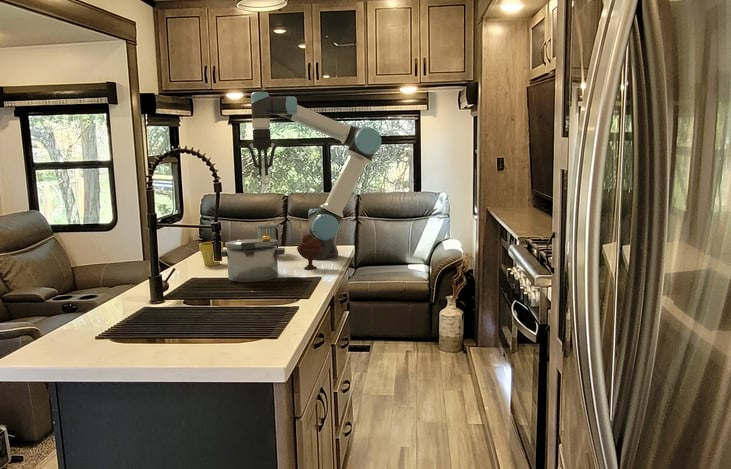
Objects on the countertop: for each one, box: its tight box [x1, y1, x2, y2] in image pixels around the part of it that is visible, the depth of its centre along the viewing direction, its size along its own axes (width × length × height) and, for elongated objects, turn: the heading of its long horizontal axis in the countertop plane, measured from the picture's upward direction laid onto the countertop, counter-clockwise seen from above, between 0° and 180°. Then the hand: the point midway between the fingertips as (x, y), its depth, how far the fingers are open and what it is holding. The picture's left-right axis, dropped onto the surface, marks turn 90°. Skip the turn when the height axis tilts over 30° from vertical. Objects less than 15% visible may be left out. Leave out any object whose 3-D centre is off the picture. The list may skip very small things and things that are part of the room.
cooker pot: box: [221, 246, 286, 283], centre depth 250 cm, size 26×20×12 cm
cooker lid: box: [224, 236, 279, 249], centre depth 248 cm, size 21×24×4 cm
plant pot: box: [198, 241, 224, 267], centre depth 278 cm, size 10×10×10 cm
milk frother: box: [256, 224, 279, 248], centre depth 298 cm, size 14×16×15 cm
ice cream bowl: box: [296, 233, 323, 271], centre depth 262 cm, size 11×11×15 cm
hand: (264, 183), depth 268 cm, fingers closed
